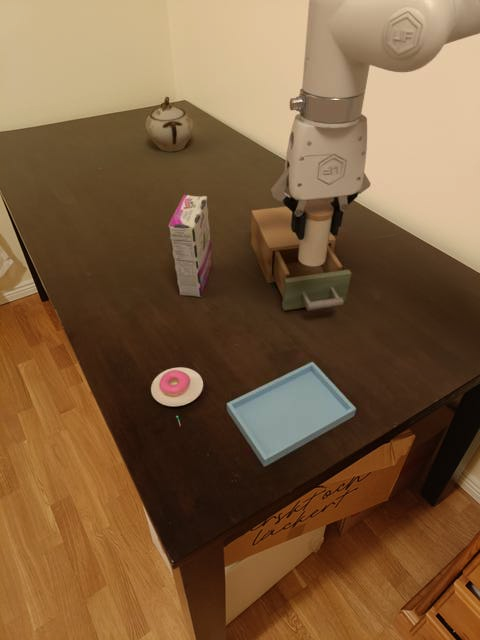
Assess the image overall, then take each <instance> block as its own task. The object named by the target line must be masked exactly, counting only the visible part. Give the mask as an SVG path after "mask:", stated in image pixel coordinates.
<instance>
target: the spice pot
mask: <svg viewBox="0 0 480 640" xmlns="http://www.w3.org/2000/svg"><path fill="white" fill-rule="evenodd" d="M304 214H305V216H306V224H305V233H304V239H303V240H300V243H299V253H298V259H299V261H300V262H301V263H302V264H304V265H307V266H320V265H322V264H323V263H324V262H325V261H326V255H327V248H328V242H329V235H330V229H331V222H332V216H333V214H334V207H333V206H332V205H331V204H330V202H329V201H326V200H325V201H324V200H321V199H316V200H308V201H307V203H306V206H305V209H304Z"/></svg>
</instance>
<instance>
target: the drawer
mask: <svg viewBox="0 0 480 640" xmlns="http://www.w3.org/2000/svg"><path fill="white" fill-rule="evenodd" d="M334 252H335V251H334ZM334 252H333V251H332V249H331V248H330V246H329V245H328V248H327V255H326V261H325V262H324V263H323V264H322V265H320V266H307V265H304V264H302V263H301V262H300V261H299V259H298V253H299V248H292V249H285V250H278V251H273V256H272V275H273V277H274V279H275V281H276V282H275V283H276V285H277V288H278V290H279V293H280V295H281V297H282V303H281V304H282V305H281V307H282V309H283V311H289V310H296V309H297V310H298V309H303V308H306V310H307V312H309V311H310V312H311V311H316V310H322V309H329V308H336V307H342V306H343V305H344V302H346V300H347V295H348V291H349V287H350V281H351V277H352V272H351V270H350V269H344V270H343V265H342V263H341V262H340V260H339V259H338V257H337V255H336V254H335V253H334Z"/></svg>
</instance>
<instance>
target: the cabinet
mask: <svg viewBox="0 0 480 640" xmlns="http://www.w3.org/2000/svg"><path fill="white" fill-rule="evenodd" d="M291 220H292V211H291V210H290V209H289V208H287V207H286V206H278V207H269V208H261V209H254V210H251V220H250V221H251V222H250V223H251V225H250V226H251V227H250V228H251V229H250V233H251V234H250V245H251V247H252V250H253V252H254V254H255V257H256V259H257V262H258V264H259V267H260V269H261V271H262V273H263V276H264V278H265V281H266V284H270V283H276V281H275V279H274V277H273V275H272V256H273V251H278V250H285V249H292V248H299V243H300V240H299V239H298V237H297V235H296V234H295V232H294V233H293V232H292V229H291ZM328 245H329V246H330V248H331V249H332V251H333V252H335V246H336V238H335V236H333V235H332V234H331V232H330V235H329V242H328Z"/></svg>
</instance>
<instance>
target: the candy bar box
mask: <svg viewBox="0 0 480 640" xmlns="http://www.w3.org/2000/svg"><path fill="white" fill-rule="evenodd" d="M208 205H209V203H208V196H206V195H193V194H192V195H191V194H183V195H182V197H181V200H180V202H179V203H178V205H177V208H176V209H175V211H174V213H173V215H172V217H171V219H170V221H169V223H168V225H167V227H168V233H169V239H170V246H171V250H172V258H173V263H174V270H175V275H176V281H177V288H178V289H177V290H178V294H179V296H183V297H196V298H202V297H203V295H204V291H205V289H206V285H207V283H208V279H209V276H210V274H211V272H212V268H213V265H214V263H213V252H212V239H211V228H210V227H211V226H210V216H209V206H208Z"/></svg>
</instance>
